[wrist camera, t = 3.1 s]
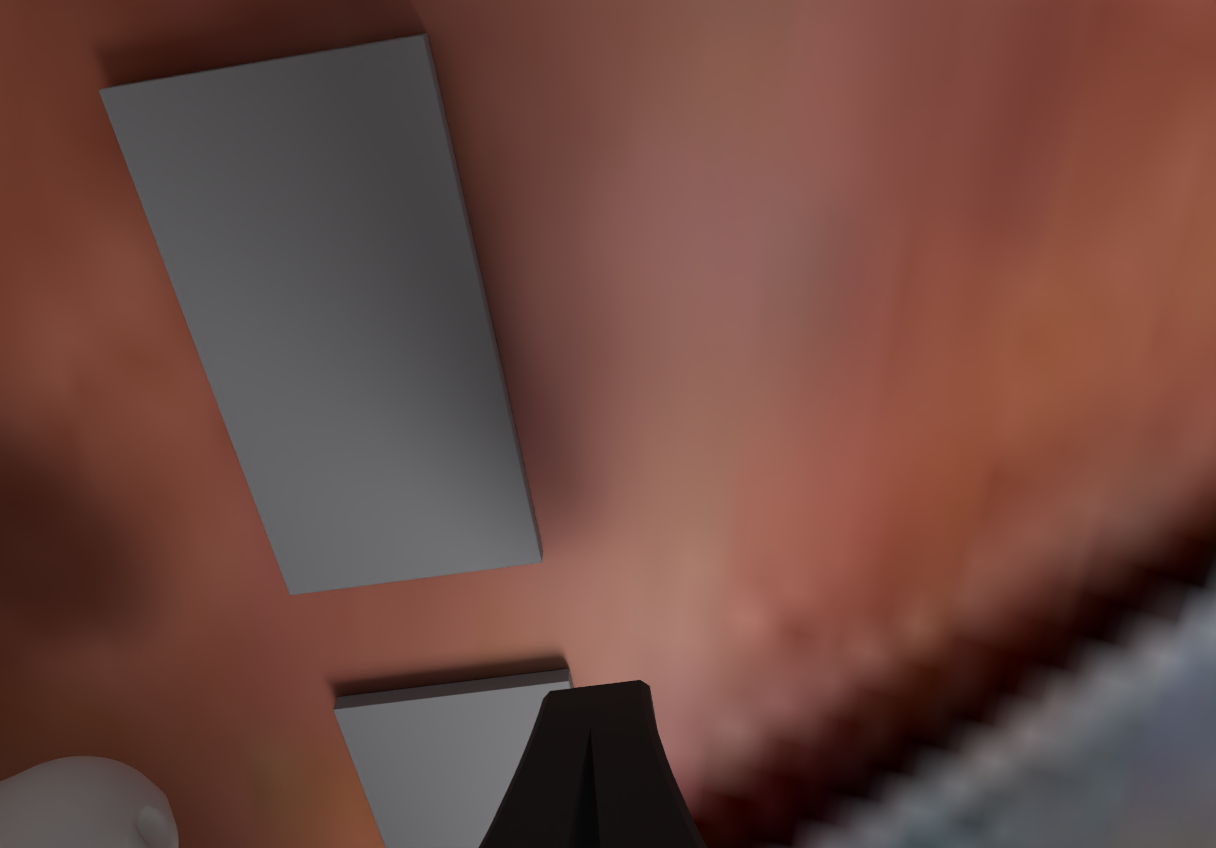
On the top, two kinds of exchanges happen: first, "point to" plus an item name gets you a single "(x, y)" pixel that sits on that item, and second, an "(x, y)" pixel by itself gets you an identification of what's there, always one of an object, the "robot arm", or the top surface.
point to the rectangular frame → (352, 372)
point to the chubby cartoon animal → (84, 807)
